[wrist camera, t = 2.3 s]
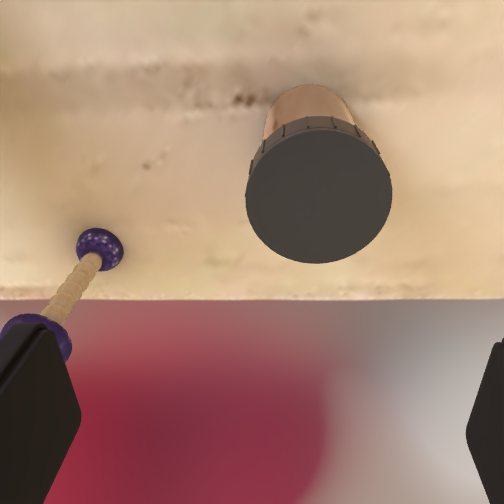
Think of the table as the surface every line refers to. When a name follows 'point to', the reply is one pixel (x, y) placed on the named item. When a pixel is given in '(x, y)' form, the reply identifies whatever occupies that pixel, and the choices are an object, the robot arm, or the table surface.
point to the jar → (305, 107)
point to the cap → (318, 190)
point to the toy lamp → (75, 284)
